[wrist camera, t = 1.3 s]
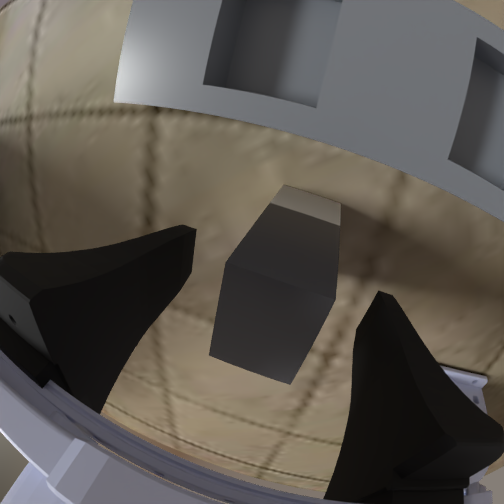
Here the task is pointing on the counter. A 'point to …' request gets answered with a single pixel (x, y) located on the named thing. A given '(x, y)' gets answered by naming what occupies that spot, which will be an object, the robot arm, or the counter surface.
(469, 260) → the counter surface
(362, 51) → the power strip
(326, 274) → the plug
